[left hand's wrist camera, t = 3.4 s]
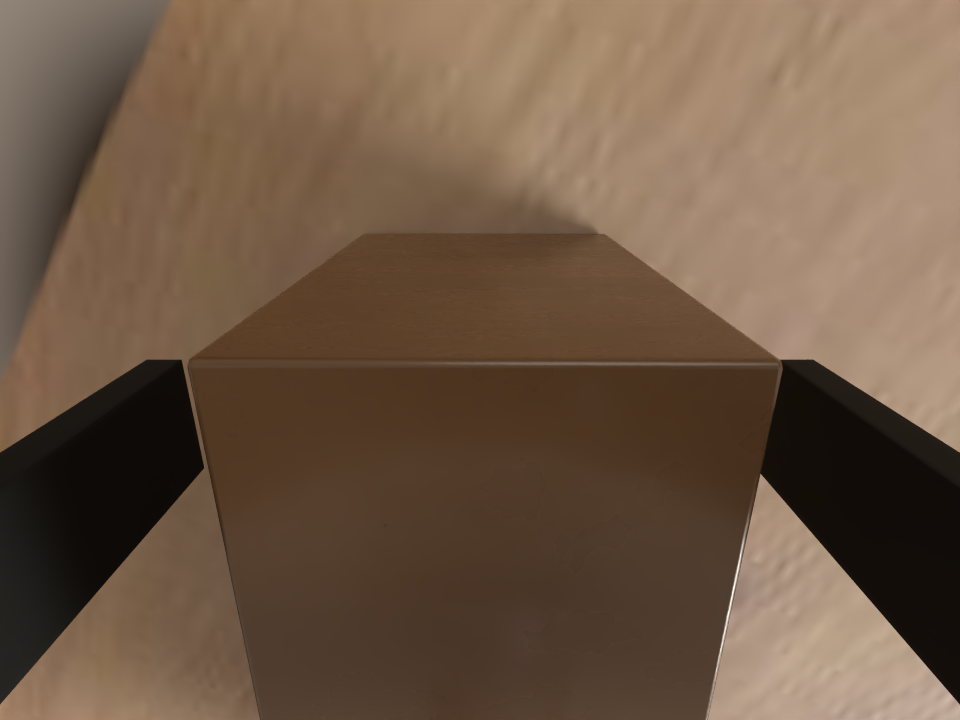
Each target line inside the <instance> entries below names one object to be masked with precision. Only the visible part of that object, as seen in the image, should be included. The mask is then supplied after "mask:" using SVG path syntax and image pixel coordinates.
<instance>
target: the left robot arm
mask: <svg viewBox="0 0 960 720" xmlns="http://www.w3.org/2000/svg"><path fill="white" fill-rule="evenodd" d="M781 363H782V368H783V370H782V375H781V379H780V384H779V389H778V393H777V398H776V403H775V407H774V412H773V417H772V422H771V426H770V431H769V436H768V440H767V445H766V450H765V454H764V459H763V464H762V468H761V475H762V476H763V477H764V478H765V479H766V480H767V481H768V483H769V484H770V485H771V486H772V487H773V488H774V490H775V491H776V492H777V493H778V494H779V495H780V497H781V498H782V499H783V500H784V501H785V502H786V503H787V505H788V506H789V507H790V508H791V509H792V510H793V512H794V513H795V514H796V515H797V516H798V517H799V519H800V520H801V521H802V522H803V523H804V524H805V525H806V527H807V528H808V529H809V530H810V531H811V532H812V534H813V535H814V536H815V537H816V538H817V539H818V541H819V542H820V543H821V544H822V545H823V546H824V548H825V549H826V550H827V551H828V552H829V553H830V554H831V556H832V557H833V558H834V559H835V560H836V561H837V563H838V564H839V565H840V566H841V567H842V568H843V570H844V571H845V572H846V573H847V574H848V575H849V576H850V578H851V579H852V580H853V581H854V582H855V583H856V585H857V586H858V587H859V588H860V589H861V590H862V592H863V593H864V594H865V595H866V596H867V597H868V598H869V600H870V601H871V602H872V603H873V604H874V605H875V607H876V608H877V609H878V610H879V611H880V612H881V614H882V615H883V616H884V617H885V618H886V619H887V621H888V622H889V623H890V624H891V625H892V626H893V627H894V629H895V630H896V631H897V632H898V633H899V634H900V636H901V637H902V638H903V639H904V640H905V641H906V643H907V644H908V645H909V646H910V647H911V648H912V649H913V651H914V652H915V653H916V654H917V655H918V656H919V658H920V659H921V660H922V661H923V662H924V663H925V665H926V666H927V667H928V668H929V669H930V670H931V672H932V673H933V674H934V675H935V676H936V677H937V678H938V680H939V681H940V682H941V683H942V684H943V685H944V687H945V688H946V689H947V690H948V691H949V692H950V694H951V695H952V696H953V697H954V698H955V699H956V700H957V702H958V703H959V704H960V453H959V452H958V451H956V450H955V449H953V448H952V447H950V446H948V445H947V444H945V443H944V442H942V441H940V440H939V439H937V438H936V437H934V436H933V435H931V434H929V433H928V432H926V431H925V430H923V429H922V428H920V427H918V426H917V425H915V424H914V423H912V422H911V421H909V420H907V419H906V418H904V417H903V416H901V415H899V414H898V413H896V412H895V411H893V410H892V409H890V408H888V407H887V406H885V405H884V404H882V403H881V402H879V401H877V400H876V399H874V398H873V397H871V396H870V395H868V394H866V393H865V392H863V391H862V390H860V389H859V388H857V387H855V386H854V385H852V384H851V383H849V382H847V381H846V380H844V379H843V378H841V377H840V376H838V375H836V374H835V373H833V372H832V371H830V370H829V369H827V368H825V367H824V366H822V365H821V364H819V363H818V362H816V361H814V360H781ZM203 469H204V465H203V460H202V455H201V450H200V446H199V441H198V436H197V431H196V426H195V422H194V417H193V412H192V407H191V402H190V398H189V393H188V388H187V383H186V379H185V374H184V369H183V364H182V360H146V361H144V362H142V363H141V364H139V365H138V366H136V367H135V368H133V369H131V370H130V371H128V372H127V373H125V374H124V375H122V376H120V377H119V378H117V379H116V380H114V381H113V382H111V383H109V384H108V385H106V386H105V387H103V388H101V389H100V390H98V391H97V392H95V393H94V394H92V395H90V396H89V397H87V398H86V399H84V400H83V401H81V402H79V403H78V404H76V405H75V406H73V407H72V408H70V409H68V410H67V411H65V412H64V413H62V414H61V415H59V416H57V417H56V418H54V419H53V420H51V421H49V422H48V423H46V424H45V425H43V426H42V427H40V428H38V429H37V430H35V431H34V432H32V433H31V434H29V435H27V436H26V437H24V438H23V439H21V440H20V441H18V442H16V443H15V444H13V445H12V446H10V447H8V448H7V449H5V450H4V451H2V452H1V453H0V704H1V703H2V702H3V700H4V699H5V698H6V697H7V696H8V695H9V694H10V692H11V691H12V690H13V689H14V688H15V687H16V685H17V684H18V683H19V682H20V681H21V680H22V678H23V677H24V676H25V675H26V674H27V673H28V672H29V670H30V669H31V668H32V667H33V666H34V665H35V663H36V662H37V661H38V660H39V659H40V658H41V656H42V655H43V654H44V653H45V652H46V651H47V649H48V648H49V647H50V646H51V645H52V644H53V643H54V641H55V640H56V639H57V638H58V637H59V636H60V634H61V633H62V632H63V631H64V630H65V629H66V627H67V626H68V625H69V624H70V623H71V622H72V621H73V619H74V618H75V617H76V616H77V615H78V614H79V612H80V611H81V610H82V609H83V608H84V607H85V605H86V604H87V603H88V602H89V601H90V600H91V598H92V597H93V596H94V595H95V594H96V593H97V592H98V590H99V589H100V588H101V587H102V586H103V585H104V583H105V582H106V581H107V580H108V579H109V578H110V576H111V575H112V574H113V573H114V572H115V571H116V570H117V568H118V567H119V566H120V565H121V564H122V563H123V561H124V560H125V559H126V558H127V557H128V556H129V554H130V553H131V552H132V551H133V550H134V549H135V548H136V546H137V545H138V544H139V543H140V542H141V541H142V539H143V538H144V537H145V536H146V535H147V534H148V532H149V531H150V530H151V529H152V528H153V527H154V525H155V524H156V523H157V522H158V521H159V520H160V519H161V517H162V516H163V515H164V514H165V513H166V512H167V510H168V509H169V508H170V507H171V506H172V505H173V503H174V502H175V501H176V500H177V499H178V498H179V497H180V495H181V494H182V493H183V492H184V491H185V490H186V488H187V487H188V486H189V485H190V484H191V483H192V481H193V480H194V479H195V478H196V477H197V476H198V475H199V473H200V472H201V471H202V470H203Z"/></svg>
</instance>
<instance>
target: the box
mask: <svg viewBox="0 0 960 720" xmlns="http://www.w3.org/2000/svg"><path fill="white" fill-rule="evenodd" d="M782 370H783V368H782V363H781V360H779V359H778V358H776V357H775V356H774V355H772V354H771V353H769V352H768V351H767V350H765V349H764V348H762V347H761V346H760V345H758V344H757V343H755V342H754V341H753V340H751V339H750V338H749V337H747V336H746V335H744V334H743V333H742V332H740V331H739V330H737V329H736V328H735V327H733V326H732V325H730V324H729V323H728V322H726V321H725V320H723V319H722V318H721V317H719V316H718V315H716V314H715V313H714V312H712V311H711V310H710V309H708V308H707V307H705V306H704V305H703V304H701V303H700V302H698V301H697V300H696V299H694V298H693V297H691V296H690V295H689V294H687V293H686V292H684V291H683V290H682V289H680V288H679V287H677V286H676V285H675V284H673V283H672V282H671V281H669V280H668V279H666V278H665V277H664V276H662V275H661V274H659V273H658V272H657V271H655V270H654V269H652V268H651V267H650V266H648V265H647V264H645V263H644V262H643V261H641V260H640V259H638V258H637V257H636V256H634V255H633V254H632V253H630V252H629V251H627V250H626V249H625V248H623V247H622V246H620V245H619V244H618V243H616V242H615V241H613V240H612V239H611V238H609V237H608V236H606V235H604V234H364V235H362V236H361V237H359V238H358V239H356V240H355V241H354V242H352V243H351V244H349V245H348V246H347V247H345V248H344V249H342V250H341V251H340V252H338V253H337V254H335V255H334V256H333V257H331V258H330V259H328V260H327V261H326V262H324V263H323V264H322V265H320V266H319V267H317V268H316V269H315V270H313V271H312V272H310V273H309V274H308V275H306V276H305V277H303V278H302V279H301V280H299V281H298V282H296V283H295V284H294V285H292V286H291V287H289V288H288V289H287V290H285V291H284V292H283V293H281V294H280V295H278V296H277V297H276V298H274V299H273V300H271V301H270V302H269V303H267V304H266V305H264V306H263V307H262V308H260V309H259V310H257V311H256V312H255V313H253V314H252V315H250V316H249V317H248V318H246V319H245V320H244V321H242V322H241V323H239V324H238V325H237V326H235V327H234V328H232V329H231V330H230V331H228V332H227V333H225V334H224V335H223V336H221V337H220V338H218V339H217V340H216V341H214V342H213V343H211V344H210V345H209V346H207V347H206V348H205V349H203V350H202V351H200V352H199V353H198V354H196V355H195V356H193V357H192V358H191V359H190V360H189V363H188V371H189V376H190V381H191V386H192V391H193V395H194V400H195V405H196V410H197V415H198V420H199V425H200V429H201V434H202V439H203V444H204V449H205V454H206V458H207V463H208V468H209V473H210V478H211V483H212V488H213V492H214V497H215V502H216V507H217V512H218V517H219V522H220V526H221V531H222V536H223V541H224V546H225V551H226V555H227V560H228V565H229V570H230V575H231V580H232V585H233V589H234V594H235V599H236V604H237V609H238V614H239V619H240V623H241V628H242V633H243V638H244V643H245V648H246V652H247V657H248V662H249V667H250V672H251V677H252V682H253V686H254V691H255V696H256V701H257V706H258V711H259V716H260V720H708V716H709V712H710V707H711V702H712V698H713V693H714V688H715V684H716V679H717V674H718V669H719V665H720V660H721V655H722V651H723V646H724V641H725V637H726V632H727V627H728V623H729V618H730V613H731V609H732V604H733V599H734V595H735V590H736V585H737V581H738V576H739V571H740V567H741V562H742V557H743V553H744V548H745V543H746V538H747V534H748V529H749V524H750V520H751V515H752V510H753V506H754V501H755V496H756V492H757V487H758V482H759V478H760V473H761V468H762V464H763V459H764V454H765V450H766V445H767V440H768V436H769V431H770V426H771V422H772V417H773V412H774V407H775V403H776V398H777V393H778V389H779V384H780V379H781V375H782Z"/></svg>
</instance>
